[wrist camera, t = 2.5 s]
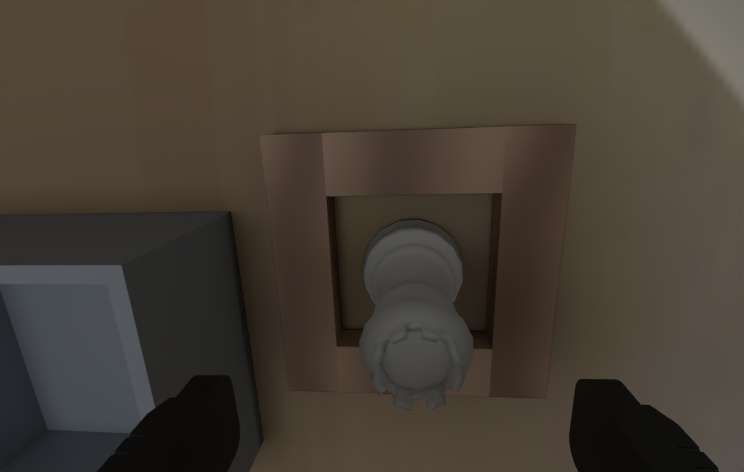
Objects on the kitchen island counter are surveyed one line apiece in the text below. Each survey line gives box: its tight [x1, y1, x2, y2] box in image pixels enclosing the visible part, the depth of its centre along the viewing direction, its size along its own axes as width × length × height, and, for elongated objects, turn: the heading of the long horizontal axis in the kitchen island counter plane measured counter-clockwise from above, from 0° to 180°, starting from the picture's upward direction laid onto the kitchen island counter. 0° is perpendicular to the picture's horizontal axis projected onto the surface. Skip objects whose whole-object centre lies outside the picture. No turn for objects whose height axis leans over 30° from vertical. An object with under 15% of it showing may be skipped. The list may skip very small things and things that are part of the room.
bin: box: [0, 212, 263, 472], centre depth 17 cm, size 13×13×7 cm
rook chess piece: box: [359, 220, 474, 411], centre depth 14 cm, size 4×4×8 cm
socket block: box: [260, 124, 576, 398], centre depth 17 cm, size 12×12×2 cm
